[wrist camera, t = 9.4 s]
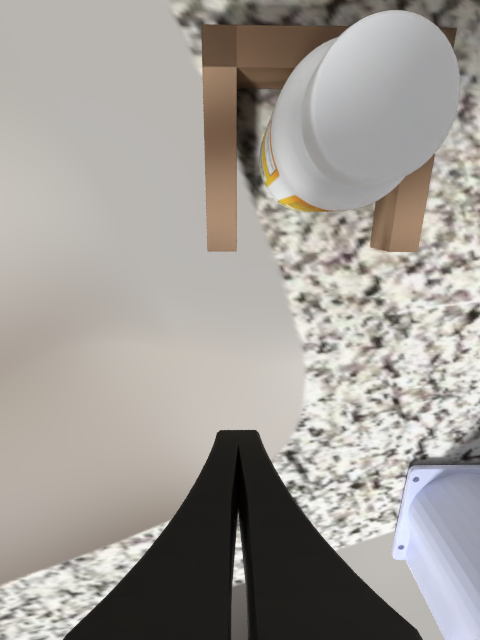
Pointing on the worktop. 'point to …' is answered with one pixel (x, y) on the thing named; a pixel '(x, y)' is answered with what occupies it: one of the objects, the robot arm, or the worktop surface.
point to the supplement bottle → (361, 114)
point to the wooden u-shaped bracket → (272, 73)
